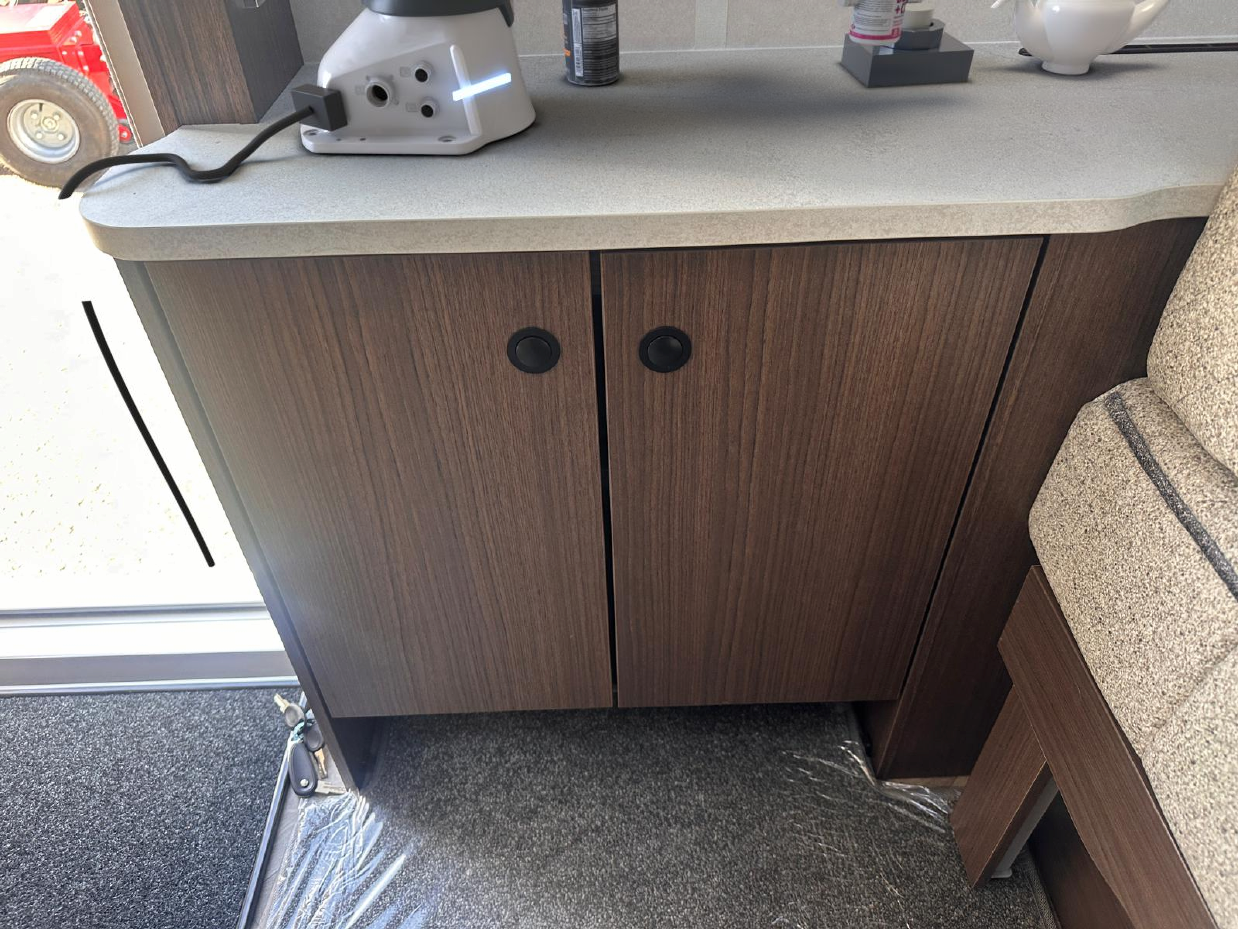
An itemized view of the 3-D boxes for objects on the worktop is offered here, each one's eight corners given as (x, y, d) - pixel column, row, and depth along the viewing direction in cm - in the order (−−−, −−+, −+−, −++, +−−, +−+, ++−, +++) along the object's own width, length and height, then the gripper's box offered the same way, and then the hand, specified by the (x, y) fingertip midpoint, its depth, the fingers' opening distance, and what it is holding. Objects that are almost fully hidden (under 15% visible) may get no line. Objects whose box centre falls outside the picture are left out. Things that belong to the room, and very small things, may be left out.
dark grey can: (574, 69, 96) (568, -45, 88) (624, 71, 95) (623, -44, 87) (560, 85, 91) (552, -34, 84) (613, 87, 90) (610, -33, 83)
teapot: (960, 58, 96) (982, -35, 90) (1134, 54, 96) (1167, -39, 90) (990, 83, 89) (1015, -16, 83) (1178, 79, 89) (1217, -20, 83)
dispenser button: (899, 32, 88) (903, 11, 86) (885, 23, 91) (889, 2, 89) (936, 31, 88) (940, 9, 87) (921, 21, 91) (925, 0, 90)
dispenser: (867, 87, 89) (875, 36, 85) (840, 63, 95) (847, 15, 92) (967, 82, 89) (979, 30, 86) (933, 58, 96) (943, 10, 93)
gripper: (1011, -190, 72) (971, -10, 81) (780, -181, 71) (765, 1, 80) (1048, -186, 68) (1001, 5, 77) (801, -177, 66) (783, 17, 75)
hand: (879, 3), depth 78 cm, fingers closed on pill bottle, 5 cm apart
